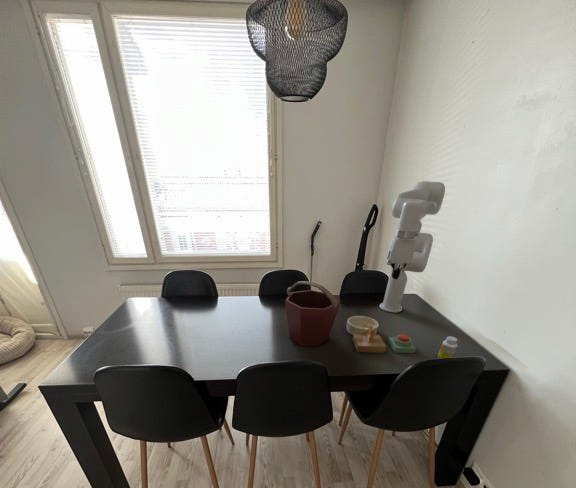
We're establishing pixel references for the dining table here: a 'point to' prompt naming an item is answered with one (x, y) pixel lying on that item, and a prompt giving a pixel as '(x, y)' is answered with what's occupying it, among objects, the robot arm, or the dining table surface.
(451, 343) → the supplement bottle
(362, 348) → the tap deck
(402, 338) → the button
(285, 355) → the dining table surface
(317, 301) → the bucket
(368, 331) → the tap lever
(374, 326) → the basin
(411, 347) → the button block
